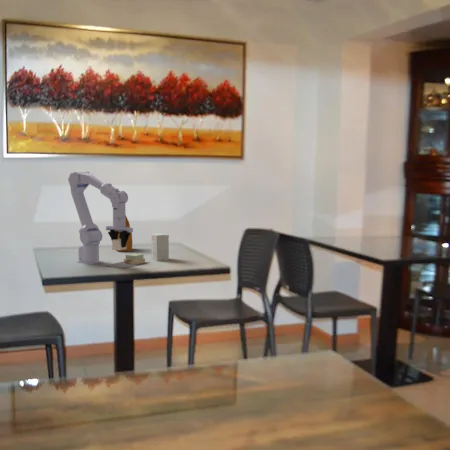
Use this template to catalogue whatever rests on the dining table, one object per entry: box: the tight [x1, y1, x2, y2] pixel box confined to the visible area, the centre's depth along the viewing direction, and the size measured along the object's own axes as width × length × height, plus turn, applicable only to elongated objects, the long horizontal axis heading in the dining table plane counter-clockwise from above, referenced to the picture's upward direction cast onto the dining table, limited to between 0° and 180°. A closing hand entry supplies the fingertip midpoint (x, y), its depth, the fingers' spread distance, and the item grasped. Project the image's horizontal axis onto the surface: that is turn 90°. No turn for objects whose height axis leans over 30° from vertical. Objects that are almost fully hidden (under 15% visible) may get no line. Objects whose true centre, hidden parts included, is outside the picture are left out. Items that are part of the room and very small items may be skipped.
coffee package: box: [115, 214, 133, 252], centre depth 320 cm, size 10×12×22 cm
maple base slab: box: [123, 257, 146, 265], centre depth 279 cm, size 7×7×2 cm
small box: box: [151, 232, 170, 262], centre depth 290 cm, size 8×6×13 cm
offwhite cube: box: [111, 239, 126, 251], centre depth 271 cm, size 4×4×4 cm
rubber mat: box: [103, 260, 151, 270], centre depth 275 cm, size 13×20×1 cm, turn 150°
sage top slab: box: [125, 252, 144, 260], centre depth 279 cm, size 6×6×2 cm
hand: (119, 246), depth 271 cm, fingers closed on offwhite cube, 4 cm apart
